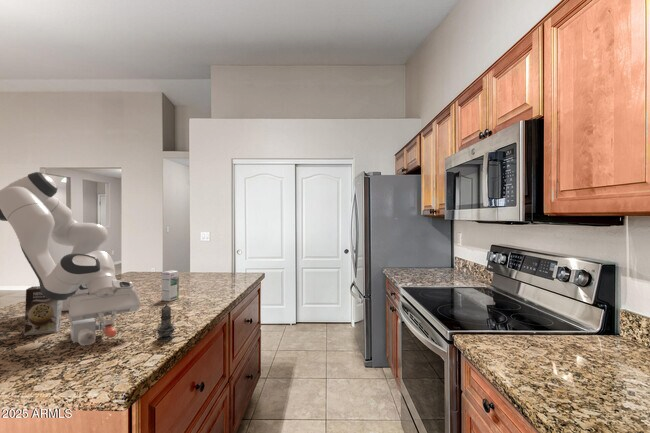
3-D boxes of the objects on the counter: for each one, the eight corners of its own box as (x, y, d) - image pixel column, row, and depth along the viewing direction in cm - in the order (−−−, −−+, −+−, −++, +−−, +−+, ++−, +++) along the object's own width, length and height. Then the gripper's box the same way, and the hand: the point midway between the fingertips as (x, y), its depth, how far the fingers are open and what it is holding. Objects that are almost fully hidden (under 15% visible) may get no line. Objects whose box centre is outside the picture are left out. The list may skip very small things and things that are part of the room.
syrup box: (169, 301, 160) (170, 272, 161) (160, 300, 163) (161, 271, 163) (178, 298, 166) (179, 270, 166) (170, 297, 168) (170, 270, 168)
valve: (68, 333, 115) (69, 316, 115) (93, 328, 120) (93, 312, 120) (75, 348, 102) (75, 329, 102) (103, 342, 107) (103, 324, 107)
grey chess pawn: (160, 335, 114) (161, 301, 114) (177, 335, 114) (178, 301, 114) (153, 341, 108) (153, 305, 108) (171, 341, 108) (171, 305, 109)
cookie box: (23, 336, 112) (24, 289, 112) (30, 330, 117) (31, 286, 118) (56, 332, 116) (57, 287, 116) (61, 326, 122) (62, 284, 122)
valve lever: (97, 321, 115) (107, 330, 102) (105, 320, 116) (117, 328, 103) (97, 330, 114) (107, 339, 101) (105, 328, 116) (117, 337, 103)
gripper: (66, 289, 104) (69, 327, 97) (137, 281, 118) (144, 314, 111) (65, 301, 107) (67, 338, 100) (134, 292, 122) (141, 324, 114)
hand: (108, 325), depth 106 cm, fingers closed, pressing on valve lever
